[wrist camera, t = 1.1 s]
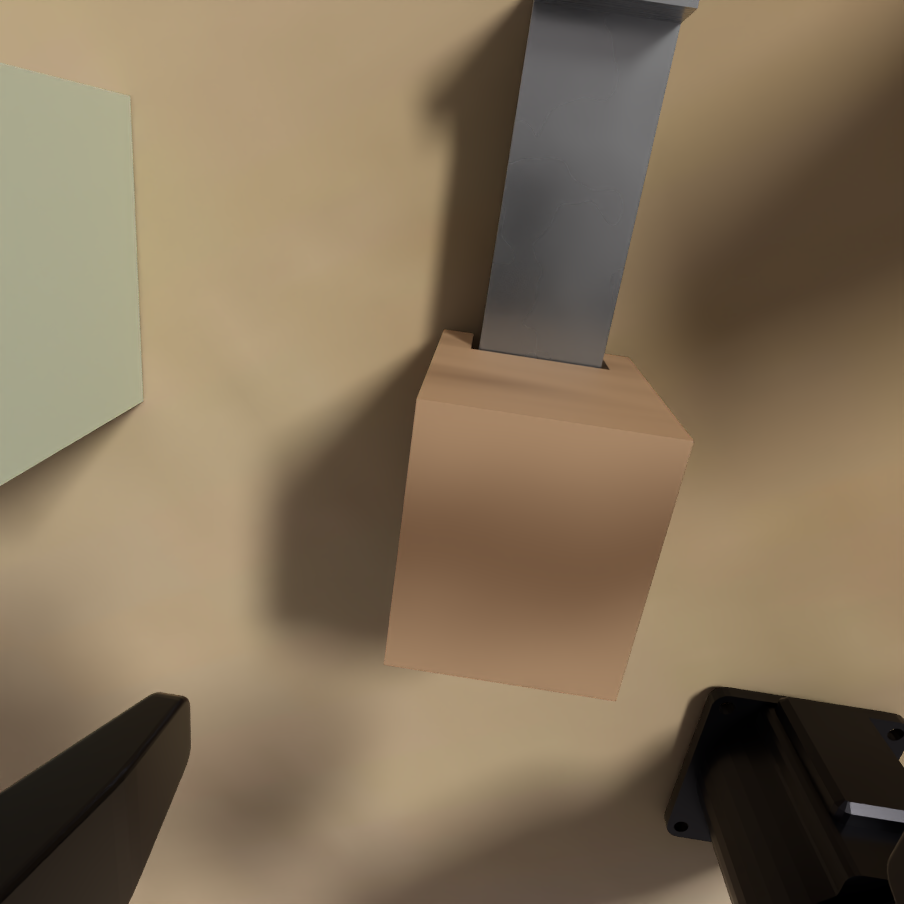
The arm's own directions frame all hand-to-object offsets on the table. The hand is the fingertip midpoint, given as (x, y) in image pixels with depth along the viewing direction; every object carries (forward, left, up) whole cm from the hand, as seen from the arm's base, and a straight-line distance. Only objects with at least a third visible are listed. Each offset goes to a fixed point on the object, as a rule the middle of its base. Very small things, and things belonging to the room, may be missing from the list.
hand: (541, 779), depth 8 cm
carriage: (0, 0, -12) cm, 12 cm away
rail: (+4, 0, -12) cm, 12 cm away
